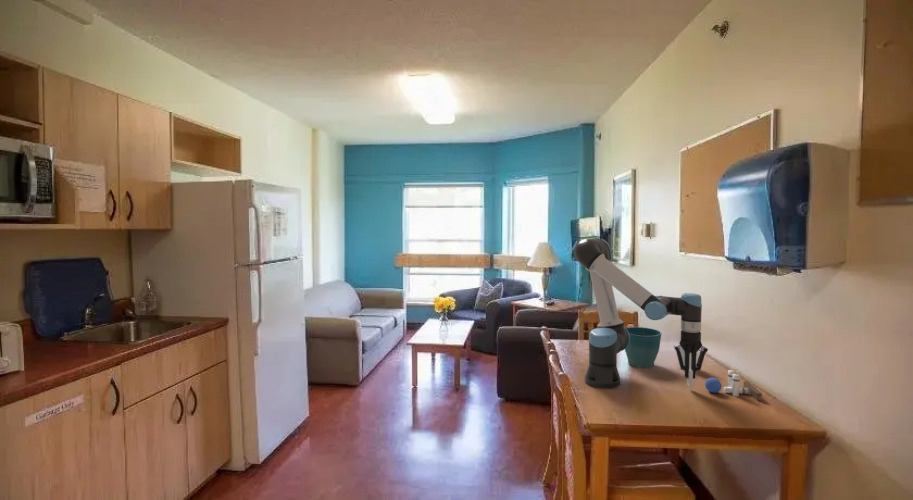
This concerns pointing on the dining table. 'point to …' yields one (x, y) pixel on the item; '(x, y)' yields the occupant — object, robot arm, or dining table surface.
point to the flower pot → (643, 346)
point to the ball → (713, 385)
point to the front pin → (741, 390)
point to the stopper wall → (753, 391)
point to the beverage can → (689, 358)
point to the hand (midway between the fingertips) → (689, 385)
